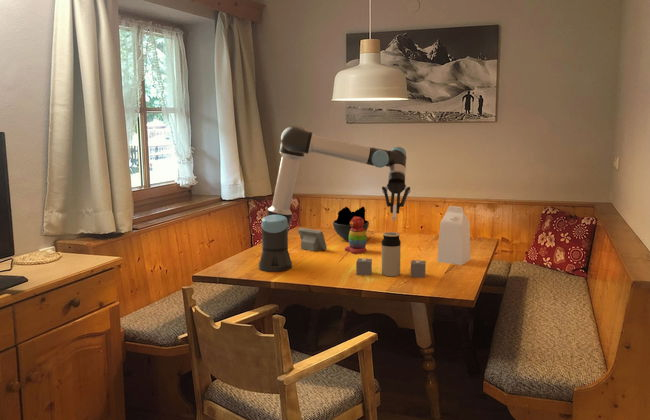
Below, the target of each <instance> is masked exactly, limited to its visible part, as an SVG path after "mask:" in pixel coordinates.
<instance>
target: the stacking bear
mask: <svg viewBox="0 0 650 420" xmlns="http://www.w3.org/2000/svg"><path fill="white" fill-rule="evenodd" d="M350 225H351V227H352V228H351V229H350V232H349V240H348V245H349V246H345V248H344V251H345V252H350V253H351V254H353V255H357V254H358V255H359V254H364V253H366V252H367V247H366V246H367V242H368V237H367V236H368V235H367V231H365V229H364V228H363V225H364V221H363V219H362V218H361V217H356V216H354V218H352V220H351V221H350Z"/></svg>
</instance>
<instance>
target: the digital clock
mask: <svg viewBox="0 0 650 420" xmlns="http://www.w3.org/2000/svg"><path fill="white" fill-rule="evenodd" d="M298 234H299V236H300V237H299V238H300V249H301V250H303V251H308V250H309V252H318V251H326V250H327V249H328V248H327V247H328V246H327V243H326V239H325V236H324V233H323V231H322V230H317V229H311V228H303V227H299V228H298Z"/></svg>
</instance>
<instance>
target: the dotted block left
mask: <svg viewBox="0 0 650 420" xmlns="http://www.w3.org/2000/svg"><path fill="white" fill-rule="evenodd" d="M355 263H356V264H355V265H356V267H355V268H356V271H355V272H356V273H355V274H356V276H371V275H372V272H373V259H372V258H359V257H358V258H357V259H356V262H355Z"/></svg>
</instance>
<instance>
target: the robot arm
mask: <svg viewBox="0 0 650 420" xmlns="http://www.w3.org/2000/svg"><path fill="white" fill-rule="evenodd" d="M311 153H312V154H313V153H314V154H319V155H323V156H326V157H333V158H335V159H340V160H341V159H342V160H347V161H350V162H355V163H360V164H365V165H368V166H374V167H376V168H379V169H380V168H384V167H388V169H389V170H388V181H387V184H386V186H382V187H381V190H382V193H383V195H384V198H385V199H384V200H385V203H386V206H387V207H388V208H389V207H390V209H389V210H390V211H389V213H390V214H392V221H397V214H399V213H400V208H404V206H405V204H406V201H407V198H408V196H409V195H408V194H410V193H411V187H410V186H407V185H406V173H407V171H406V170H407V169H406V168H407V167H406V165H407V152H406V149H404V148H403V147H401V146H395V147H393V148H392V149H391V150H387V149H382V148H377V147H371V146H364V145H361V144H355V143H350V142H346V141H342V140H338V139H332V138H328V137H324V136H319V135H316V134H315V133H314V132H311V131H308V130H305V129H304V128H303V127H302V126H299V125H290V126H288V127H286V128H285V129H284V130H283V131H282V132H281V136H280V146H279V154H280V157H281V159H280V163H279V168H278V173H277V178H276V184H275V189H274V193H273V199H272V204H271V206H270V207H268V208H267V213H266V215H265V216H264V217H262V219H261V225H260V227H261V244H262V246H261V255H260V259H259V262H258V269H259V270H261V271H264V272H283V271H288V270H291V269H292V268H293V262H292V260H291V255H290V253H289V241H288V240H289V236H288V235H289V231H290V229H291V222H292V221H291V220H292V217H293V216H292V215H293V213H292V211H291V205H292V200H293V194H294V189H295V184H296V181H297V175H298V170H299V165H300V160H302V159H303V158H304V157H305V154H307V155H309V154H311ZM388 191H389V193H391V194H390V199H389V193H388ZM403 191H404V193H403V195H402V198H401V194H402V192H403ZM395 195H396V204H395Z"/></svg>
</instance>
